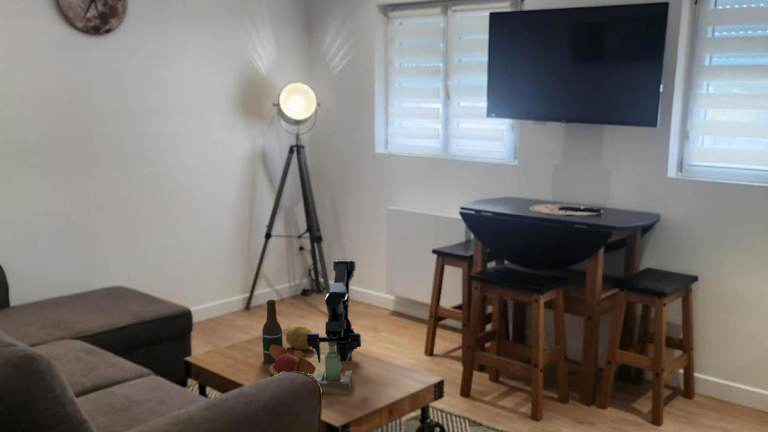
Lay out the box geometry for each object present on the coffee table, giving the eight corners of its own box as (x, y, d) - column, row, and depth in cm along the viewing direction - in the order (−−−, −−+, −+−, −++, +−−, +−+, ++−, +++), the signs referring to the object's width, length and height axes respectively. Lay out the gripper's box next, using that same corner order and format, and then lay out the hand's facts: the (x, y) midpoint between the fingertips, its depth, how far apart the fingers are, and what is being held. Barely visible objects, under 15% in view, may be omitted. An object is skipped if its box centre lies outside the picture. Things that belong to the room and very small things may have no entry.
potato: (299, 320, 295) (281, 323, 289) (320, 328, 286) (302, 332, 280) (297, 342, 296) (279, 346, 290) (318, 351, 287) (301, 355, 281)
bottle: (330, 380, 251) (329, 339, 248) (343, 382, 248) (342, 341, 246) (323, 385, 246) (321, 344, 244) (336, 387, 244) (335, 345, 242)
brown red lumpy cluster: (271, 359, 271) (253, 364, 257) (280, 339, 271) (263, 342, 256) (314, 384, 266) (299, 390, 251) (324, 362, 265) (309, 367, 251)
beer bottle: (285, 357, 278) (283, 298, 275) (280, 364, 271) (278, 303, 267) (265, 357, 279) (263, 297, 275) (260, 364, 271) (258, 303, 268)
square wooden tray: (318, 381, 253) (318, 370, 253) (352, 381, 253) (352, 370, 252) (313, 394, 242) (313, 383, 241) (348, 394, 241) (348, 383, 240)
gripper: (306, 310, 248) (302, 351, 239) (360, 311, 247) (357, 352, 238) (310, 325, 257) (306, 365, 248) (362, 326, 256) (360, 366, 247)
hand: (332, 362), depth 245 cm, fingers open, 9 cm apart
